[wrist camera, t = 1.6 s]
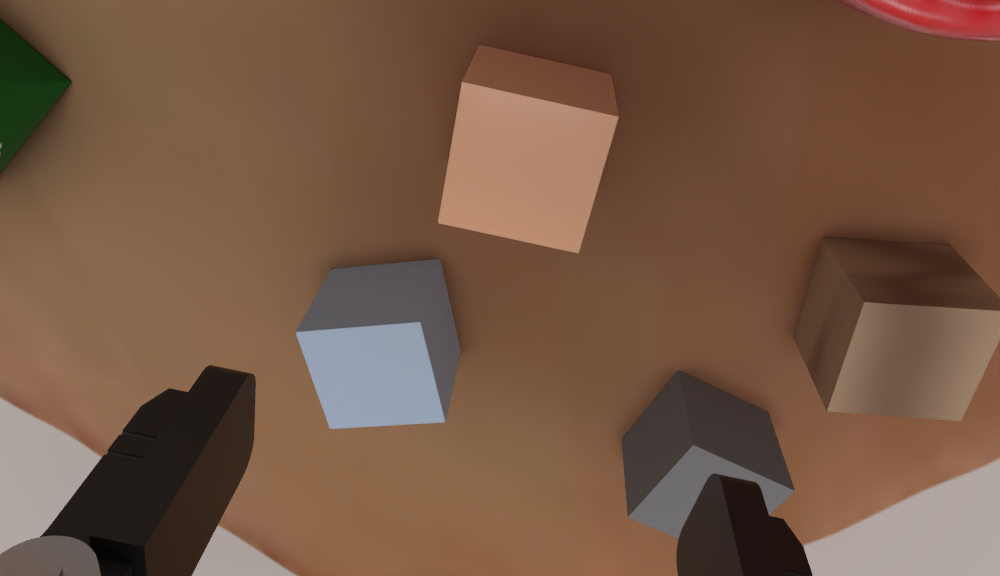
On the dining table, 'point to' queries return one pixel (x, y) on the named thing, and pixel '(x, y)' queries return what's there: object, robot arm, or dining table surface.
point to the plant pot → (937, 16)
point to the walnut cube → (896, 328)
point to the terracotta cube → (528, 148)
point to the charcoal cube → (697, 452)
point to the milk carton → (23, 91)
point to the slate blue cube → (382, 345)
